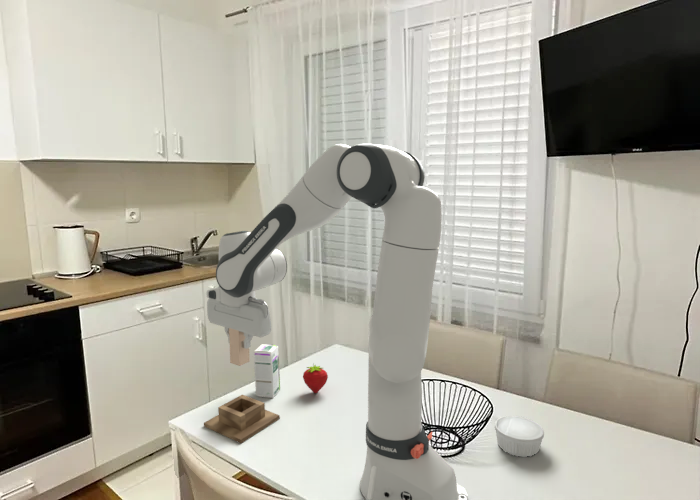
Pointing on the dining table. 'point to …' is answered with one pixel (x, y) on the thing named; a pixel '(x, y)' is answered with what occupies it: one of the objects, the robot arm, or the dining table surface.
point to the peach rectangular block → (238, 348)
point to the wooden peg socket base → (241, 418)
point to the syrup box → (267, 370)
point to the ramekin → (519, 435)
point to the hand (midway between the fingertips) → (239, 345)
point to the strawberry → (315, 378)
